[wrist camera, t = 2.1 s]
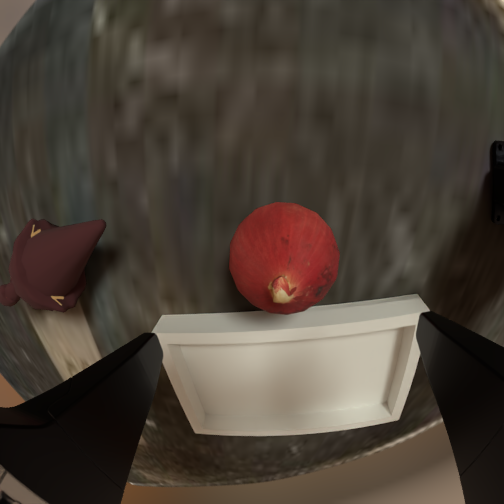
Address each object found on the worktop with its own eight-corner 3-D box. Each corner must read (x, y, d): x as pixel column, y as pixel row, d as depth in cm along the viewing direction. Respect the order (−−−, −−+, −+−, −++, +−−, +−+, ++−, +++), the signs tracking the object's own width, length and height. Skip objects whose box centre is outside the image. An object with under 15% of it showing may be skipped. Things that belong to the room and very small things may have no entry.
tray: (417, 293, 19) (430, 310, 17) (392, 401, 24) (398, 419, 22) (162, 314, 22) (150, 333, 20) (200, 415, 27) (195, 433, 24)
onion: (343, 217, 18) (383, 269, 11) (301, 289, 20) (310, 369, 13) (261, 176, 18) (249, 202, 10) (225, 254, 20) (194, 322, 12)
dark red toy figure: (42, 168, 12) (-21, 263, 17) (83, 298, 12) (6, 341, 17) (121, 171, 19) (33, 250, 23) (158, 268, 19) (58, 317, 24)
